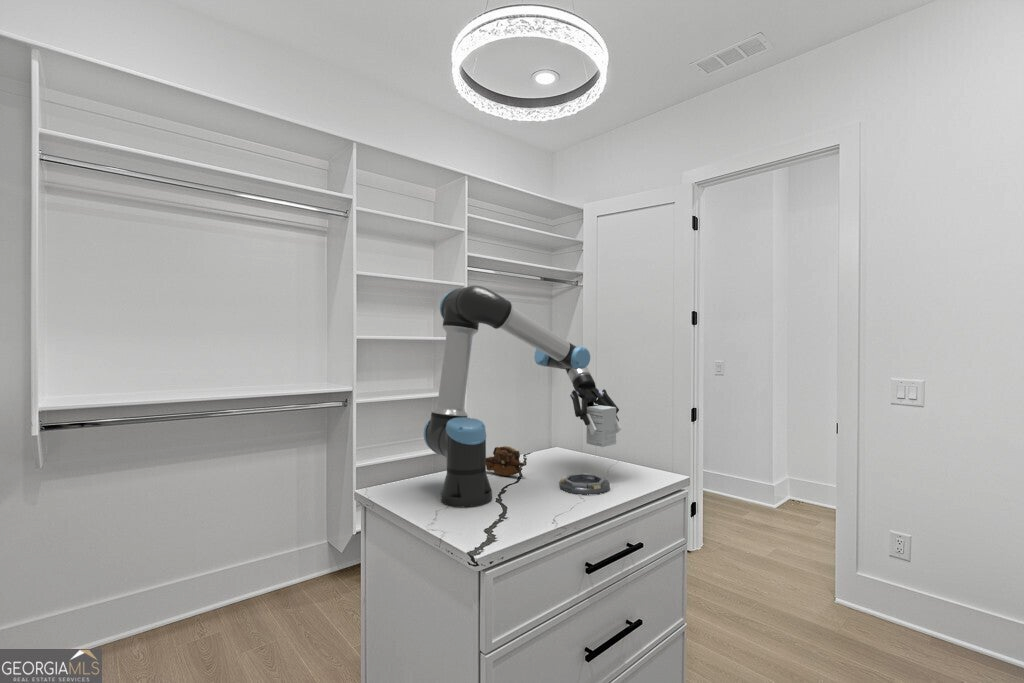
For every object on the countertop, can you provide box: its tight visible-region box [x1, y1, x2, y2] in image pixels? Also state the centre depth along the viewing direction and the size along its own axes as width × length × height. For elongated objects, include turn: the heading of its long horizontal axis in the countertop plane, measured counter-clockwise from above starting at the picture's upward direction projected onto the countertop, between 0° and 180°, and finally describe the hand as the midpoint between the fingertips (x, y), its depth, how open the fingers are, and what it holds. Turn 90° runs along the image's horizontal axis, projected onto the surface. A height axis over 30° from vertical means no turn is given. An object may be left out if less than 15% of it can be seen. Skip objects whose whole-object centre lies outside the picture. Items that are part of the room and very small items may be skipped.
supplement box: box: [586, 404, 617, 448], centre depth 169 cm, size 7×7×13 cm
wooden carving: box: [486, 445, 526, 477], centre depth 175 cm, size 16×5×10 cm, turn 60°
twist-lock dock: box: [558, 473, 611, 496], centre depth 159 cm, size 16×16×3 cm
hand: (606, 431), depth 166 cm, fingers closed on supplement box, 9 cm apart
